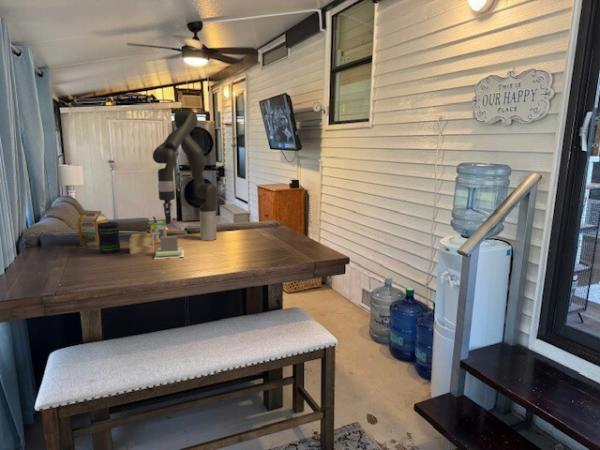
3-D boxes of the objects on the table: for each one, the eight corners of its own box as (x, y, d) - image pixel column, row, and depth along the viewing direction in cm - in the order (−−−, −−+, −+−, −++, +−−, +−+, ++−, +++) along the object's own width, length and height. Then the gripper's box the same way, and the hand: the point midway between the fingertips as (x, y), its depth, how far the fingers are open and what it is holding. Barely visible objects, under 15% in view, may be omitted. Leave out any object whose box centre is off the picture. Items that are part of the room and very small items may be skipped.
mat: (184, 250, 212) (184, 250, 212) (184, 257, 199) (183, 256, 199) (156, 252, 209) (156, 251, 209) (154, 259, 195) (154, 258, 195)
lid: (181, 250, 211) (181, 233, 209) (181, 256, 200) (181, 238, 198) (157, 251, 208) (156, 235, 206) (156, 258, 197) (155, 240, 195)
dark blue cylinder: (112, 255, 202) (110, 226, 200) (95, 253, 204) (92, 225, 201) (124, 250, 212) (122, 222, 209) (108, 249, 214) (105, 221, 211)
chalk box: (167, 242, 231) (166, 217, 228) (150, 244, 226) (149, 218, 223) (163, 239, 238) (162, 214, 235) (147, 240, 233) (145, 215, 231)
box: (154, 247, 218) (153, 233, 216) (152, 252, 207) (152, 237, 206) (132, 248, 215) (131, 234, 213) (130, 254, 204) (129, 238, 203)
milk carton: (109, 242, 229) (106, 209, 225) (98, 246, 218) (95, 212, 215) (91, 241, 230) (89, 208, 226) (80, 246, 219) (77, 211, 216)
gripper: (174, 191, 192) (176, 224, 195) (174, 188, 205) (176, 219, 208) (157, 191, 190) (159, 225, 193) (159, 188, 203) (161, 219, 206)
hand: (168, 222), depth 201 cm, fingers open, 8 cm apart
